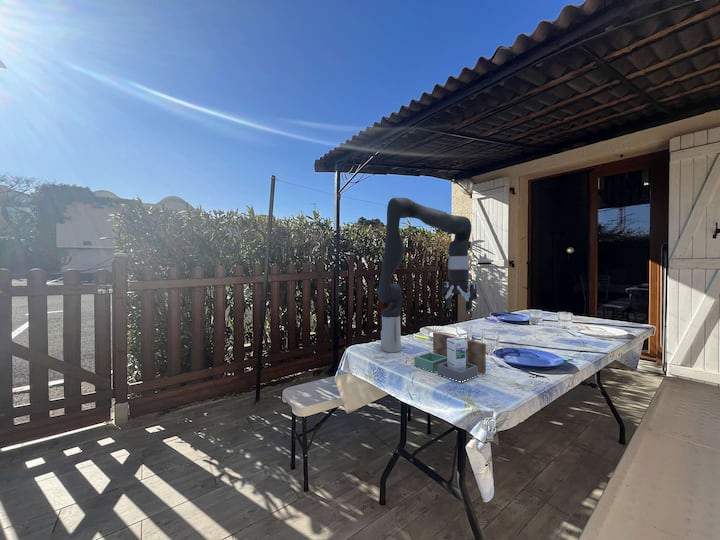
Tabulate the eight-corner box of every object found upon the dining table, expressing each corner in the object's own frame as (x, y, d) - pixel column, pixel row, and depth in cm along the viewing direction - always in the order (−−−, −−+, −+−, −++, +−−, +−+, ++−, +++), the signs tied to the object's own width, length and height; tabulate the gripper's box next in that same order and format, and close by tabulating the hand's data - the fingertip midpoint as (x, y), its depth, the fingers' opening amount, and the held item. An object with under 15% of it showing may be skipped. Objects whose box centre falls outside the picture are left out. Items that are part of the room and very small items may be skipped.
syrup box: (455, 379, 119) (454, 341, 118) (446, 373, 124) (446, 337, 124) (468, 377, 120) (468, 340, 119) (459, 371, 126) (459, 336, 125)
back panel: (433, 358, 142) (433, 332, 142) (435, 357, 143) (435, 331, 143) (483, 374, 122) (483, 344, 122) (485, 373, 123) (485, 343, 123)
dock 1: (414, 365, 134) (414, 356, 133) (430, 360, 140) (429, 351, 139) (432, 372, 126) (432, 362, 125) (448, 366, 132) (448, 357, 131)
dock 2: (437, 374, 123) (437, 364, 123) (454, 368, 130) (454, 358, 130) (461, 383, 114) (461, 372, 114) (478, 375, 121) (478, 365, 121)
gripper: (437, 267, 124) (437, 308, 125) (469, 268, 113) (469, 313, 114) (448, 267, 129) (449, 306, 129) (480, 267, 117) (480, 310, 118)
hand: (458, 309), depth 121 cm, fingers open, 8 cm apart
